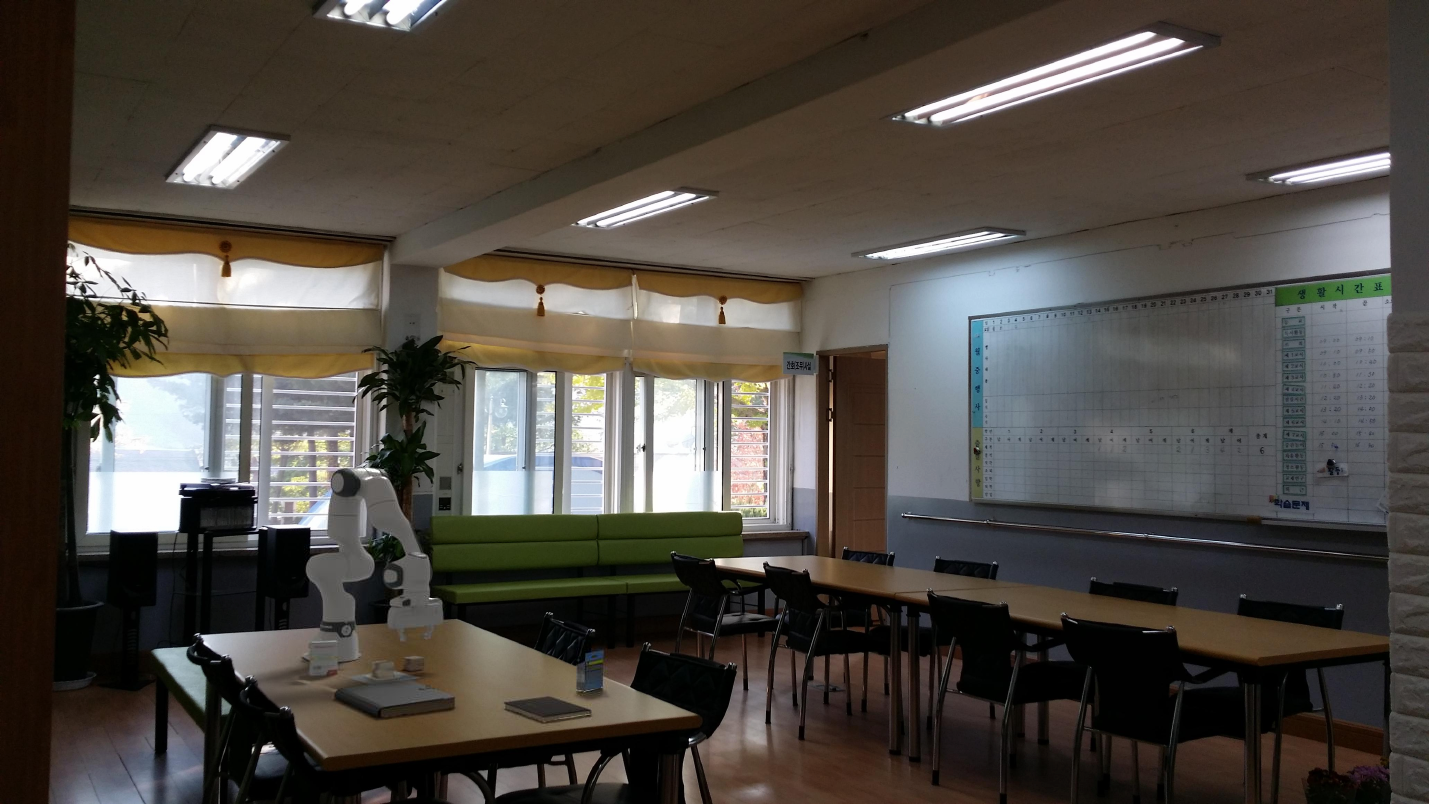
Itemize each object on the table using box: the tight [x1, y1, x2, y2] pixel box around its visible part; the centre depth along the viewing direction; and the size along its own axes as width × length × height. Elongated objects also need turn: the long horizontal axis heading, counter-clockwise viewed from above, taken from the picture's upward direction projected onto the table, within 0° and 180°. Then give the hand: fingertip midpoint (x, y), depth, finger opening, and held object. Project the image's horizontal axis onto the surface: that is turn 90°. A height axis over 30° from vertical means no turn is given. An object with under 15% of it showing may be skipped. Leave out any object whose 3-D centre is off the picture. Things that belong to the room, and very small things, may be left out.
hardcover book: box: [503, 695, 592, 722], centre depth 315 cm, size 16×23×2 cm
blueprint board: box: [344, 670, 421, 685], centre depth 358 cm, size 18×18×1 cm
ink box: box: [308, 640, 339, 677], centre depth 363 cm, size 9×5×12 cm, turn 116°
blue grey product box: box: [575, 649, 604, 691], centre depth 348 cm, size 9×4×12 cm, turn 145°
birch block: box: [371, 660, 395, 679], centre depth 358 cm, size 5×5×5 cm
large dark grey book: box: [334, 679, 456, 719], centre depth 323 cm, size 33×4×24 cm
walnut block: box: [402, 655, 425, 672], centre depth 375 cm, size 5×5×5 cm
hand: (415, 640), depth 375 cm, fingers open, 8 cm apart
